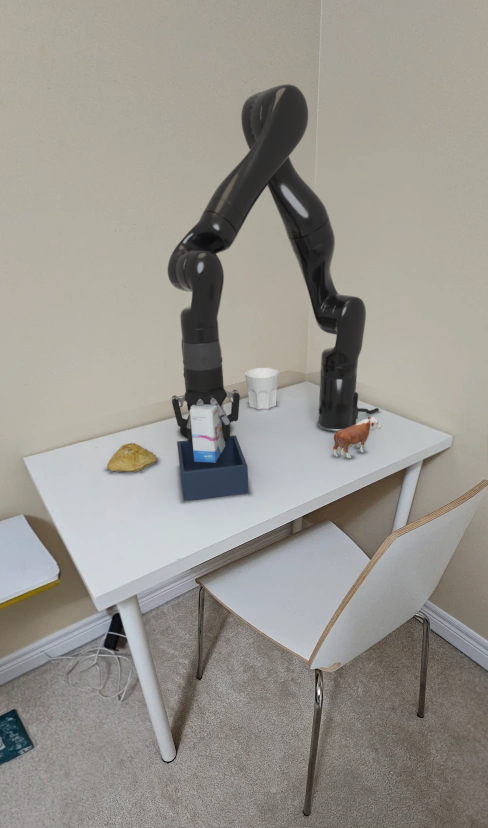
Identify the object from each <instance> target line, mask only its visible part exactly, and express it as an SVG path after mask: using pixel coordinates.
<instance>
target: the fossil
mask: <svg viewBox="0 0 488 828" xmlns="http://www.w3.org/2000/svg"><path fill="white" fill-rule="evenodd" d="M157 460H158V459H157V456H156V454H154V452H152V451H150V450H147V449H145V448H144V447H142V446H141V445H139V444H137V443H134V442H130V443H124V444H122V445H121V446H120V447H119V448H118V449H117V451H116V452H115V453H114V454H113V455H112V456H111V458H110V459H109V460H108V462H107V464H106V469H107V470H109V471H110V472H114V473H115V472H118V473H135V472H139V471H140V472H141V471H143V470H144V469H146V468H148V467H150V466H152V465H153V464H155V463H156V462H157Z"/></svg>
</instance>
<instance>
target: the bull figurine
mask: <svg viewBox="0 0 488 828" xmlns="http://www.w3.org/2000/svg"><path fill="white" fill-rule="evenodd" d="M381 428H382V425H381V423H380V422H379V421H378V419H377V418H375V416H369V415H368V416H367V418H364V419H362V420H360V421H358V422H356V424H354V425H352V426H350V427H348V428H344V429H342V430H339V431H337V432H334V434H333V441H334V446H333V447H332V449H333V454H332V455H333V456H334V457H336V458H337V457H339V453H338V448H339V451H340V454H341V456H344V455H345V457H346V458H348V459H352V458H353V457H352V455H351V454H350V453H349V448H351V447H352V446H353V445H355V447H356V448H357V449H358V451H359V452H360V453H362V454H363V453H365V451H364V448H363V447H364V446H365V443H366V442H367V440H368V437H369V435H370V433H371V432H374V431H375V430H376V429H377V430H380V429H381Z"/></svg>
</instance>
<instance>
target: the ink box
mask: <svg viewBox="0 0 488 828" xmlns="http://www.w3.org/2000/svg"><path fill="white" fill-rule="evenodd" d="M221 406H222V408H223V409H224V402H223V403H222V405H221ZM221 406H220V407H221ZM190 408H191V409H190V418H191V430H192V441H193V452H194V462H210V463H216V461H217V459H218V458H219V456H220V454H221V453H222V451H223V449H224V447H225V441H224V439H223V428H222V422H223V421H222V419H221V418H220V416H219V415H218V413H217V406H216V405H215V406H212V404H208V405H202V406H195V405H192V406H191V407H190Z"/></svg>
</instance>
